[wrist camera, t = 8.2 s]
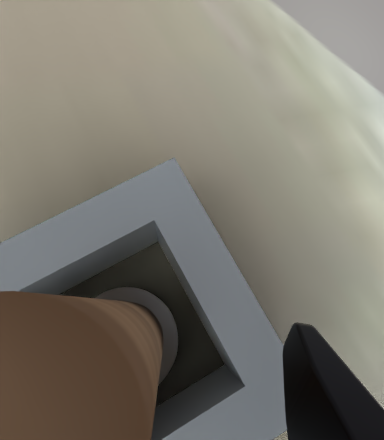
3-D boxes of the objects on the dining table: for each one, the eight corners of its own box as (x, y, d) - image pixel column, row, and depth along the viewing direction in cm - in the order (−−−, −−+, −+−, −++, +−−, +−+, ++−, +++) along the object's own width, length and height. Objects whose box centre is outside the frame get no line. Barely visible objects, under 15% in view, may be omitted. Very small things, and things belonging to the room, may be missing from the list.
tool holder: (73, 512, 15) (32, 601, 10) (-22, 292, 16) (-91, 287, 12) (279, 380, 16) (319, 407, 12) (173, 193, 18) (174, 157, 14)
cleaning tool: (123, 413, 16) (-73, 883, 3) (58, 336, 16) (-342, 449, 3) (197, 339, 16) (292, 455, 4) (133, 268, 17) (31, 163, 4)
